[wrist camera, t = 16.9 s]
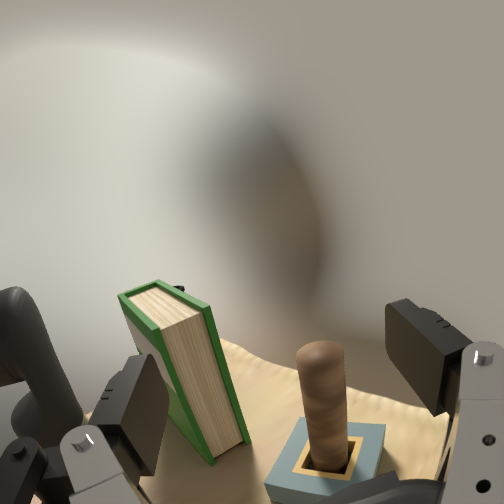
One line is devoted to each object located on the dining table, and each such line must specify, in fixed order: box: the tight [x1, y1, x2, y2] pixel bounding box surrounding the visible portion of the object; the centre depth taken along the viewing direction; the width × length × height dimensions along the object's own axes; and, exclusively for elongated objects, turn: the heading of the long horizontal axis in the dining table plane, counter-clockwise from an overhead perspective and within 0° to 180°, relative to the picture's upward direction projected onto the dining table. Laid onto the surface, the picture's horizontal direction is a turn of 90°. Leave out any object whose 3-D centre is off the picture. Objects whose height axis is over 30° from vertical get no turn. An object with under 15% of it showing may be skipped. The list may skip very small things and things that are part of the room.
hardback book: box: [118, 279, 251, 466], centre depth 44 cm, size 18×7×24 cm, turn 36°
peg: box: [296, 341, 348, 475], centre depth 30 cm, size 4×4×20 cm
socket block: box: [264, 417, 386, 504], centre depth 32 cm, size 12×12×5 cm
